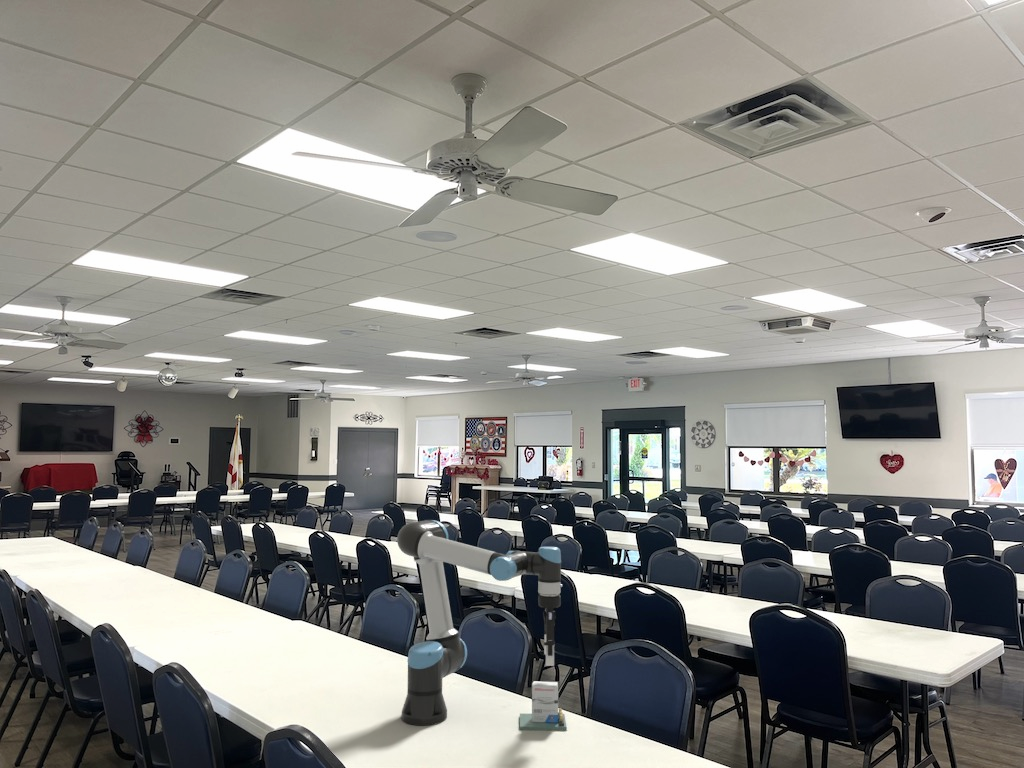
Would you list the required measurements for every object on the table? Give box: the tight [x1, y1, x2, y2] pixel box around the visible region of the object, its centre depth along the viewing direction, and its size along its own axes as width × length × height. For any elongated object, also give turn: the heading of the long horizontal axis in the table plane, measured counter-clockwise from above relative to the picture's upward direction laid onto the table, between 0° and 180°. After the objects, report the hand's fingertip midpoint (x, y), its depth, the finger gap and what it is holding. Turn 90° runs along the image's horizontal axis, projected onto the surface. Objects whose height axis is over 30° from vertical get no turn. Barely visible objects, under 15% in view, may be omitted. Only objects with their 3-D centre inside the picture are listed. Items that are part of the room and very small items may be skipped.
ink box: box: [531, 680, 559, 723], centre depth 238 cm, size 8×5×12 cm, turn 84°
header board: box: [519, 707, 568, 731], centre depth 237 cm, size 15×12×4 cm
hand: (549, 659), depth 239 cm, fingers open, 13 cm apart
